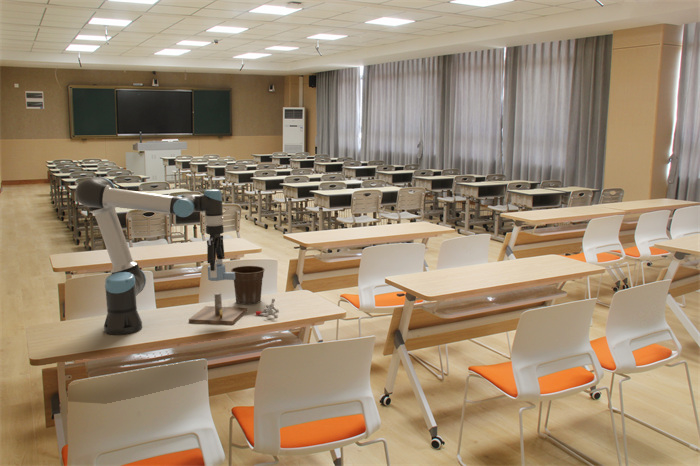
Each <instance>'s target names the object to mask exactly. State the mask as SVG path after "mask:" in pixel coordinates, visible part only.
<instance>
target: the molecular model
mask: <svg viewBox="0 0 700 466" xmlns="http://www.w3.org/2000/svg"><path fill="white" fill-rule="evenodd" d="M275 301H276V299H275V298H274V297H273V298H271V302H270V304H269V305H268V304H266V305H265V308H263V310H260V311H259V310H257V311H255V315H256V316H260V315H263V317H264V318H266V317H268V315H272V316H273V317H274V318H278V314H276V313H279V309H277V308H275V304H274V302H275ZM273 311H274V312H276V313H274V312H273Z"/></svg>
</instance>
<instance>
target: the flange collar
mask: <svg viewBox="0 0 700 466" xmlns="http://www.w3.org/2000/svg"><path fill="white" fill-rule="evenodd" d="M216 268H217V278H210V264H209V265H208V266H207V278H208V279H207V280H208V281H212V282H219V281H226V280H227V281H228V280H229V281H234V280H235V272H231V271H230V272H228V271H226V265H225V264H216Z"/></svg>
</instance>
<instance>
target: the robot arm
mask: <svg viewBox="0 0 700 466" xmlns="http://www.w3.org/2000/svg"><path fill="white" fill-rule="evenodd" d="M203 192H204V193H202V194H185V193H184V194H179V195H176V196H174V195H167V194H159V193H158V194H157V193H150V192H146V191H145V192H144V191H135V190H128V189H123V188H122V189H121V188H116V187H115V185H114V183H113V182H112V181H111V180H110V179H108V178H107V177H103V176H94V177H92V178H91V177H90V178H87V179H83V180H82V181H80V182H79V183H78V185H77V186H76V188H75V198H76V200H77V201H78V202H79V204H81V205H82V206H84V207H87V209H88V212H89V213H91V214H93V215H94V217H95V220H96V223H97V225H98V228H99V231H100V233H101V236H102V240H103V242H104V244H105V248H106V251H107V253H108V256H109V259H110V262H111V265H112V269H111V270H110V273H111V274H109V275H108V276H107V277H106V278H105V280H104V281H105V282H104V283H105V284H104V288H105V300H106V309H107V310H106V311H107V314H106V317H105V321H104V325H103V331H104V333H105V334H107V335H114V336H115V335H116V336H117V335H118V336H120V335H128V334H133V333H136V332H138V331H141V329H143V321H142V319H141V317H140V315H139V312H138V308H137V306H138V305H137V296H138V295H139V294H140V293H142V292H143V290H144V289H145V287H146V283H147V277H146V274H145V273H144V271H143V270H142V269H140V267H139V264H138V262H136V261H135V260H133V257H132V253H131V251H130V249H129V246H128V242H127V240H126V237H125V232H123V228H122V225H121V222H120V220H119V217H118V213H117V210H116V208H120V209H127V210H136V211H145V212H152V213H159V214H167V215H175V216H177V217H180V218H186V217H189V216H190V215H192V214H193V213H196V212H199V213H200V212H202V213H203V212H204V215H205V225H206V226H205V233H206V235H209V239H208V240H207V239H206V247H207V249H206V251H207V254H206V255H207V262H206V263H207V264H209V265H210V278H217V268H216V264H223V263H224V260H225V247H224V235H223V234H224V220H225V218H224V216H223V215H224V211H223V208H224V207H223V196H222V195H223V194H222V190H220V189H217V188H213V189H205V190H204V191H203ZM223 265H224V264H223Z"/></svg>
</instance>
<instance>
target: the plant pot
mask: <svg viewBox="0 0 700 466" xmlns="http://www.w3.org/2000/svg"><path fill="white" fill-rule="evenodd" d="M265 270H266V269H265V268H264V267H263V266H258V265H240V266H236V267H233V268H231V269H230V272H235V280H233V283H234V284H233V285H234V294H235V295H234V296H235V301H236V303H238V304H241V305H253V304H254V303H255V304H257V303H260V302H261V301H262V291H263V290H262V288H263V279H264V273H265Z"/></svg>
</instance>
